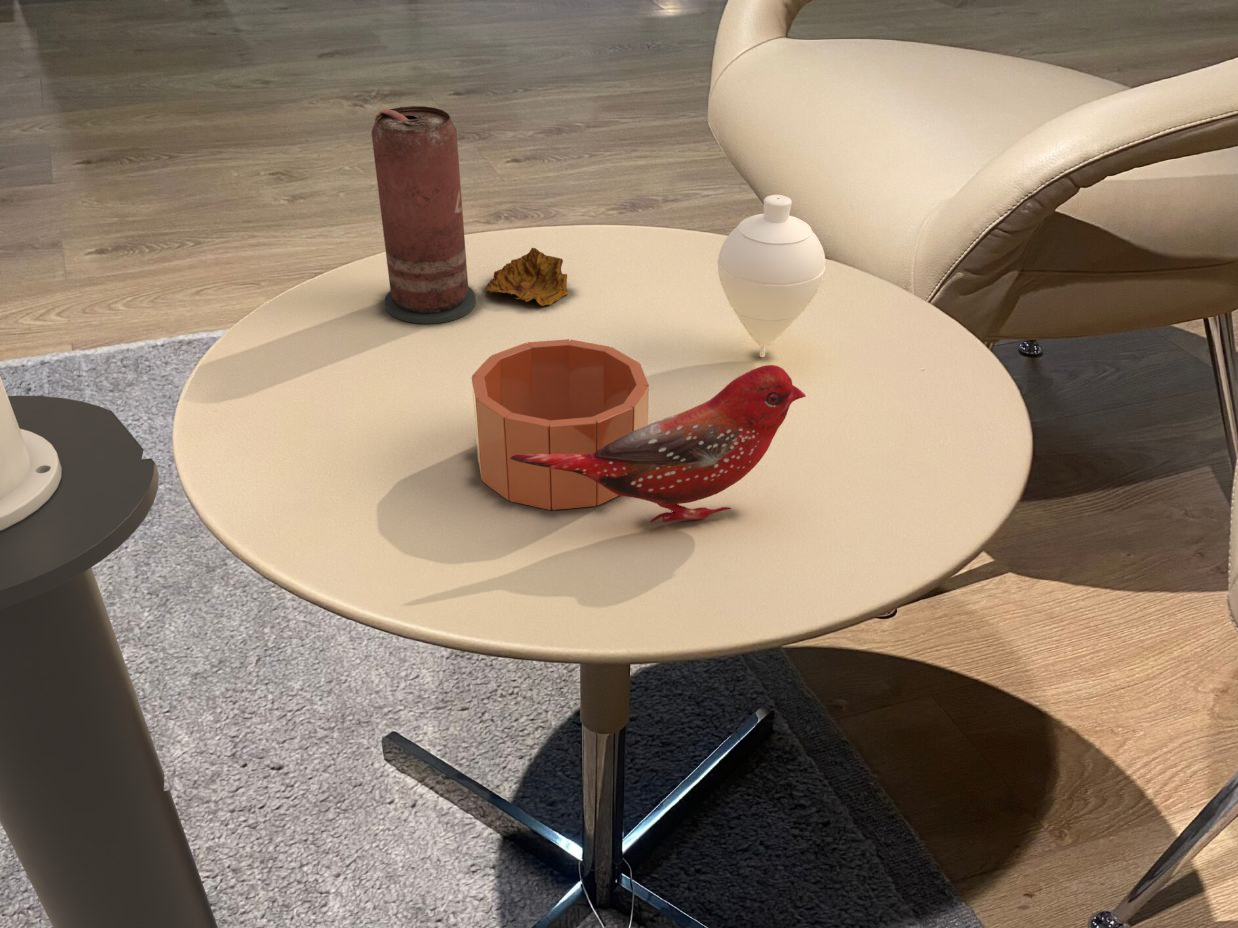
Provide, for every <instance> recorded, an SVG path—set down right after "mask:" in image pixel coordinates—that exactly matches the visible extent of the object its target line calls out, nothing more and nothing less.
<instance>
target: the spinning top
mask: <svg viewBox="0 0 1238 928" xmlns="http://www.w3.org/2000/svg"><path fill="white" fill-rule="evenodd" d="M792 204H793V201H792V199H791V198H790V197H788V196H787V195H782V194H771V195H767V196H766V197H764V199H763V213H759V214H755V215H751V216H748V217H746V218H744V219H742V220H741V221H740V222H739V223H738V225H736V227H735V228H734V229H733V230H731V232H730V233H729V234H728V235H727V237H726V238H725V239H724V241H723V243H722V245H721V247H720V250H719V252H718V258H717V274H718V278H719V279H718V280H719V282H720V285H721V288H722V290H723V292H724V295H725V297H726V299H727V301H728V303H729V305H730V307H731V309H732V311H733V312H734V314H735V315H736V317H737V318H738V320H739V322H740V324H742V326H743V328H744V329H745V330H746V332H747V333H748V334H749V336H750V337H751V338H752V339H753V341H754V342H755V343H756V344H757V345H758V346H760V349H759V356H760V357H761V358H764V357H765V356H766V347H768V346H770V345H771V344H772V343H774V342H775V341H776V340H777V339H779V337H780V336H782V335H783V334H784V333H785V332H786V331H787V330H788V329H789V328H790V327H791V326H792V325H793V323H794V322H795V321H796V320H797V319H798V318H799V317H800V316H801V315H802V314H803V313H804V312H805V310H806V309H807V307H808V306H809V305H810V303H811V302H812V300H813V299H814V297H815V296H816V294H817V293H818V291H819V290H820V288H821V286H822V283H823V280H824V278H825V277H824V276H825V273H826V254H825V251H824V248H823V245H822V243H821V242H820V240H819V238H818V236H817V235H816V233H815V232H814V231H813V230H812V227H811V226H810V225H809V224H808V223H807V222H805V221H804V220H802V219H800V218H799V217H795V216H793V215H790V213H791V208H792Z"/></svg>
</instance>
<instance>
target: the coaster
mask: <svg viewBox="0 0 1238 928" xmlns="http://www.w3.org/2000/svg"><path fill="white" fill-rule="evenodd" d="M476 304H477V297H476V293H475V291H474V290H473V289H472V288H471V287H470V286H468V293H467V296H466V297H465V299H464V301H463V302H462V303H461V304H460V305H459V306H457V307H455V308H453V309H451V310H447V311H444V312H438V313H417V312H411V311H408V310H406V309H403V308H402V307H400V306H399V305H398V304H397V303H396V302H395V301H394V299H393V298H392V295H391V291H390V290H389V291H388V292H387V294H386V295H385V298H384V306H385V310H386V311H387V312H388V314H389V315H390V316H391V317H393V318H395V319H397V320H399V321H402V322H407V323H411V324H421V325H422V324H423V325H431V324H433V325H434V324H441V323H443V324H444V323H446V322H452V321H455V320H458V319H460V318H463V317H465V316H466V315H468V314H469V313H471V312H472V311H473V310H474V308H475V307H476Z"/></svg>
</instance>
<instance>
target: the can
mask: <svg viewBox="0 0 1238 928" xmlns="http://www.w3.org/2000/svg"><path fill="white" fill-rule="evenodd" d="M457 131H458V130H457V128H456V126H455V125H454V123H453V121H452V118H451V115H450V114H449V112H447V111H445V110H443V109H440V108H437V107H432V106H424V105H423V106H422V105H409V106H408V105H407V106H399V107H394V108H390V109H387V108H384V109H382V110H381V111H379V112H378V114H377V115H376V116H375V117H374V123H373V126H372V129H371V132H370V133H371V134H370V135H371V140H372V149H373V150H372V151H373V157H374V159H373V160H374V167H375V175H376V183H377V191H378V200H379V207H380V215H381V216H380V217H381V225H382V232H383V241H384V249H385V256H386V258H385V259H386V266H387V273H388V274H387V275H388V282H389V289H390V290H389V292H390V291H391V295H392V298H393V299H394V301H395V302H396V303H397V304H398V305H399V306H400V307H402V308H403V309H406V310H408V311H411V312H417V313H438V312H444V311H447V310H451V309H453V308H455V307H457V306H459V305H460V304H461V303H462V302H463V301H464V299H465V297H466V296H467V293H468V287H469V279H468V278H469V277H468V266H467V253H466V239H465V224H464V213H463V212H464V211H463V197H462V185H461V184H462V183H461V174H460V160H459V147H458V146H459V145H458V133H457Z"/></svg>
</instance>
